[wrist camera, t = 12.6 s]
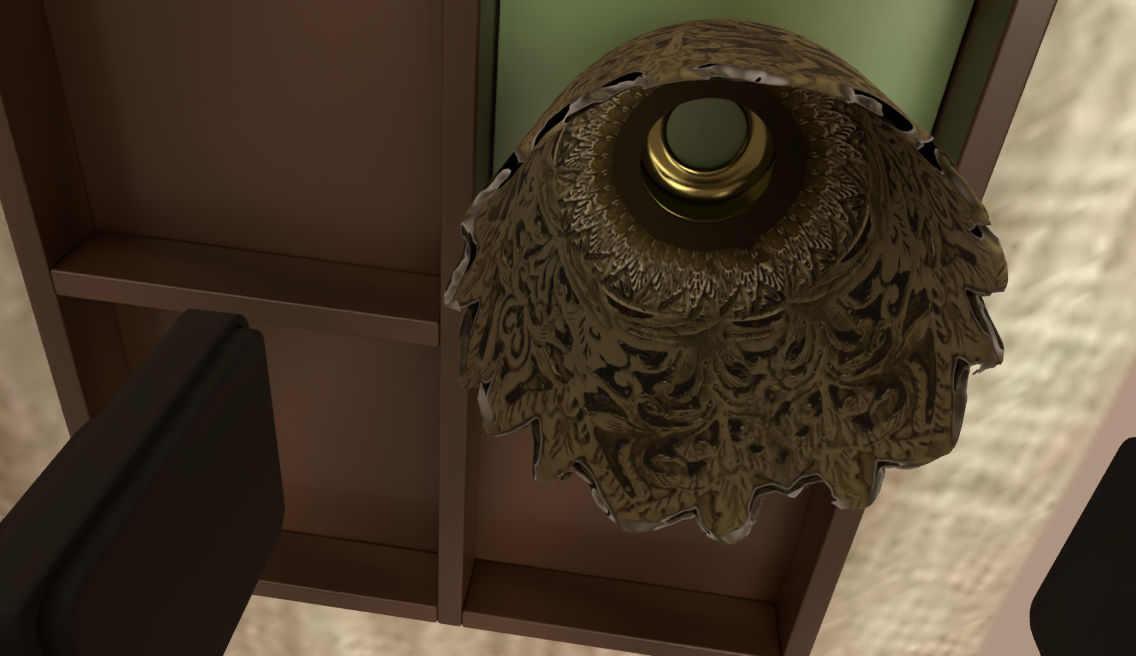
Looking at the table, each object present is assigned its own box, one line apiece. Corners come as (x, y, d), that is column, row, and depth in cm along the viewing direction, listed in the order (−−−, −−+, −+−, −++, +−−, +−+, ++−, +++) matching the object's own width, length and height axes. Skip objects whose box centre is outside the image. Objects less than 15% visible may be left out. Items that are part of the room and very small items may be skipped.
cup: (839, -133, 16) (946, -32, 9) (931, 221, 19) (1057, 480, 13) (468, 32, 18) (340, 206, 12) (609, 321, 22) (573, 583, 15)
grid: (153, 509, 28) (109, 574, 26) (-28, -242, 17) (-131, -237, 15) (792, 605, 27) (801, 679, 25) (1044, -124, 16) (1098, -102, 14)
